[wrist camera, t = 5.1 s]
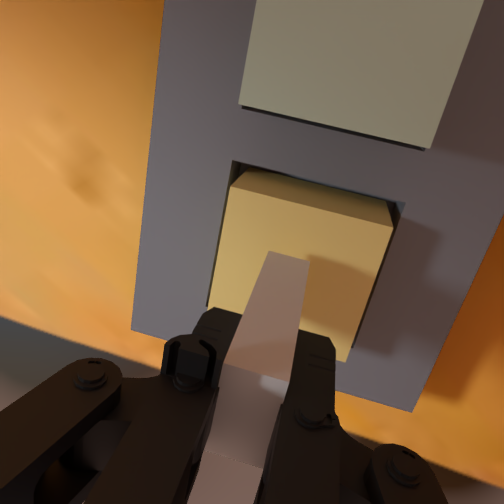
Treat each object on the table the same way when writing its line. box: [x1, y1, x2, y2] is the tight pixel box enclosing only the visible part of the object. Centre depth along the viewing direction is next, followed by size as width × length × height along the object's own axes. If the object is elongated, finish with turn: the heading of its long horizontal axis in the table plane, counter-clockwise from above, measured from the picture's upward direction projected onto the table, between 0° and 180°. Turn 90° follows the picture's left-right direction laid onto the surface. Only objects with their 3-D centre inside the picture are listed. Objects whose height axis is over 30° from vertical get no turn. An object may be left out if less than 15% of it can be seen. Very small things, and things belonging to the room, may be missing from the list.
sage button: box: [238, 0, 484, 149], centre depth 14 cm, size 6×6×4 cm
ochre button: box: [207, 167, 393, 362], centre depth 19 cm, size 6×6×4 cm
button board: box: [131, 0, 504, 413], centre depth 16 cm, size 14×30×2 cm, turn 168°
